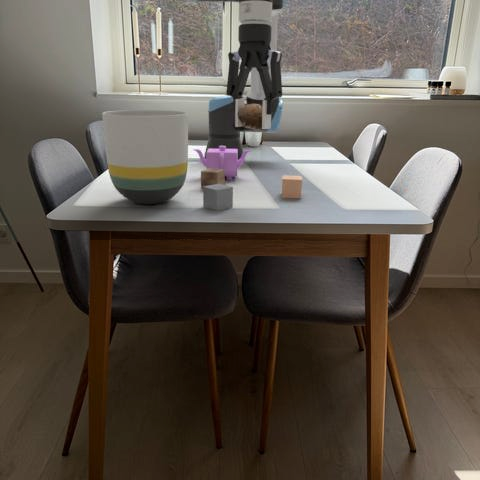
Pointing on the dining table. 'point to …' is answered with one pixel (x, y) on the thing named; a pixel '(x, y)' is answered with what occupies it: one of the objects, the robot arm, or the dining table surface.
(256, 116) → the mushroom
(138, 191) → the planter
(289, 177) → the terracotta cube
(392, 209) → the dining table surface
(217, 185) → the slate cube
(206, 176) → the walnut cube
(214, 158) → the teapot
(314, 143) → the dining table surface
